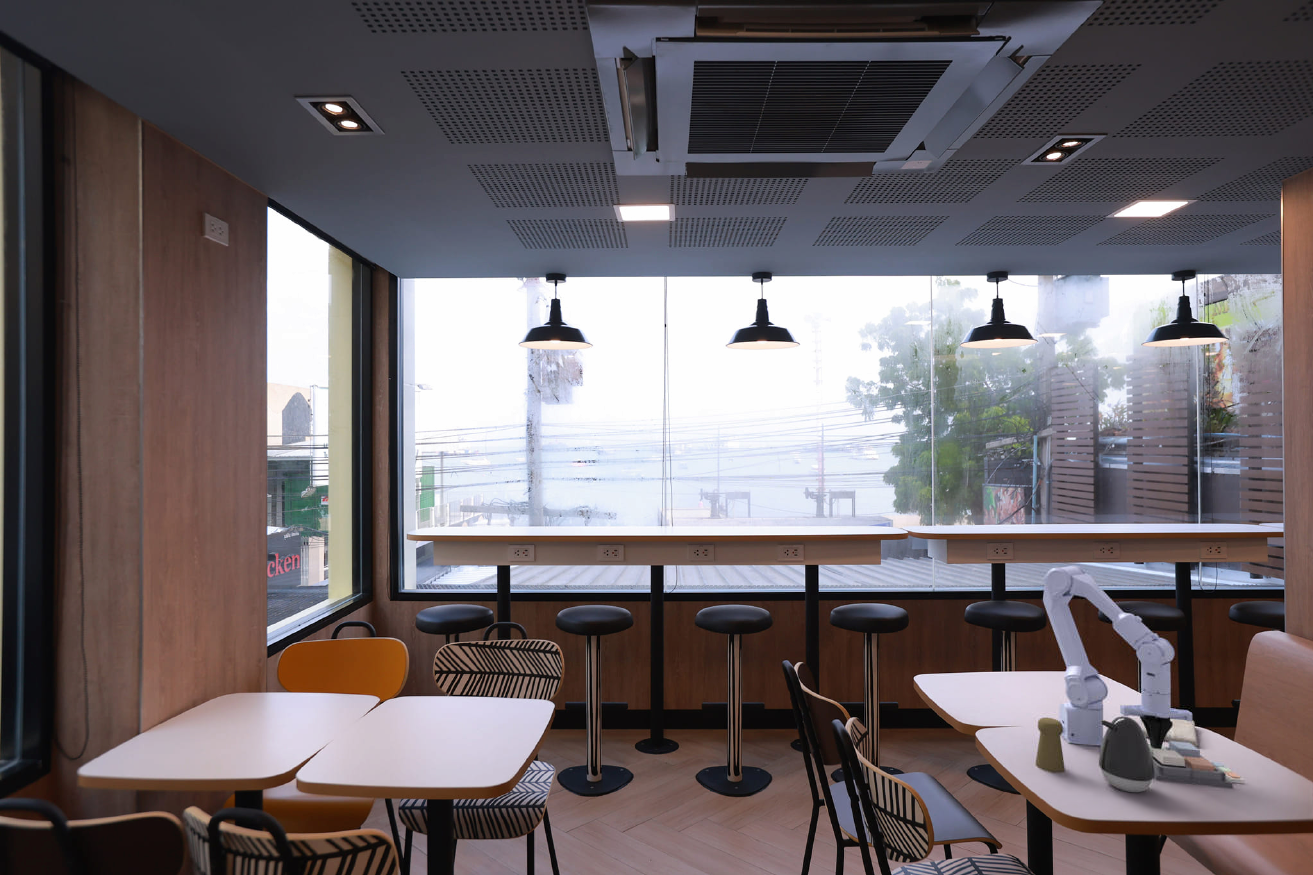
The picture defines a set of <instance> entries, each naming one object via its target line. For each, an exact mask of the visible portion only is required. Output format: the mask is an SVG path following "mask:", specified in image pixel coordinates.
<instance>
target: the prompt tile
mask: <svg viewBox="0 0 1313 875" xmlns="http://www.w3.org/2000/svg"><path fill="white" fill-rule="evenodd" d="M1210 762H1211V763H1212V764H1213V765H1215V766H1216V767H1217V768H1219V769H1220V770H1221V771H1223V772H1224V773H1226V778H1227V779H1228V780H1229V781H1231V782H1232V783H1233V784H1234V783H1235V784H1236V783H1237V784H1244V779H1243V778H1242V777H1241V776H1240V775H1238V774H1237V773H1235V772H1234V771H1232V770H1231V768H1230V769H1229V768H1228V767H1227V766H1225V765H1224V764H1223V763H1222V762H1219V761H1217V762H1216V761H1210Z"/></svg>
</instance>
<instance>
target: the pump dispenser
mask: <svg viewBox="0 0 1313 875" xmlns="http://www.w3.org/2000/svg"><path fill="white" fill-rule="evenodd" d="M1101 724H1102V725H1103V727H1106V731H1105V733H1104V734H1103V741H1102V745H1101V746H1100V749H1099V757H1098V766H1099V768H1100V770H1101V773H1102V775H1103V778H1104V779H1105V780H1106V782H1108V783H1109V784H1110V785H1111V786H1113V787H1114V788H1116V789H1119V790H1121V791H1123V792H1129V793H1140V792H1144V791H1146V790H1147V789H1149V788H1150V786H1151V785H1152V781H1153V780H1154V779H1155V778H1154V765H1153V759H1152V754H1151V751H1150V747H1149V744H1150V743H1149V741H1148V740H1147V739H1148V738H1147V737H1145V734H1144V732H1143V730H1142V727H1141V726H1140V724H1139V723H1138V722H1137V721H1136V720H1135V719H1133V718H1131V717H1129V716H1124V715H1122V716H1117V717H1116V718H1114V719H1113V720H1112V721H1111V722H1110V721H1108V720H1105V719H1103V720H1102V721H1101Z"/></svg>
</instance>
